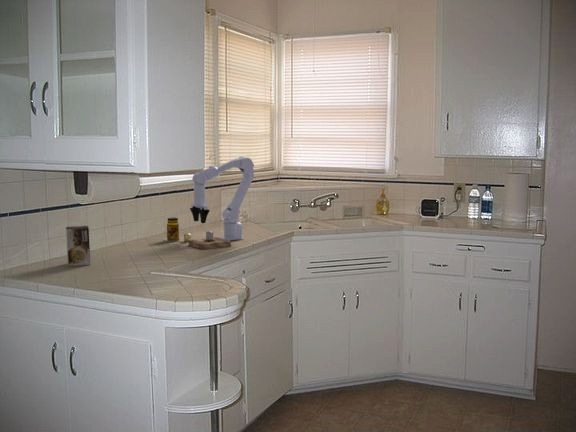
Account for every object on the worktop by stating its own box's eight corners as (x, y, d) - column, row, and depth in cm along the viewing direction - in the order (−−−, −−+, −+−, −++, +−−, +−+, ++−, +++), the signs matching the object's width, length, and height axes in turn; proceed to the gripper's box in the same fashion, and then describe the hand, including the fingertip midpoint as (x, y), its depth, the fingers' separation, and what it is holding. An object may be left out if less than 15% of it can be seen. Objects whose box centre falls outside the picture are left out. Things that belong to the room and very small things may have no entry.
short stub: (189, 240, 335) (189, 233, 334) (192, 241, 332) (192, 234, 331) (182, 241, 333) (182, 233, 332) (186, 242, 330) (186, 234, 329)
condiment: (169, 242, 330) (168, 219, 328) (163, 239, 337) (162, 217, 335) (182, 241, 333) (182, 218, 332) (176, 238, 341) (176, 216, 339)
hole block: (216, 241, 332) (216, 237, 332) (230, 246, 321) (230, 241, 321) (188, 245, 323) (188, 240, 323) (202, 249, 312) (202, 244, 311)
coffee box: (89, 262, 280) (88, 225, 278) (90, 265, 275) (89, 227, 272) (67, 263, 277) (65, 226, 275) (67, 266, 271) (66, 228, 269)
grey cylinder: (210, 244, 324) (210, 231, 323) (214, 245, 322) (214, 231, 321) (204, 245, 322) (204, 231, 321) (208, 246, 319) (208, 232, 318)
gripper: (186, 195, 335) (186, 220, 336) (199, 197, 323) (199, 224, 325) (198, 194, 339) (198, 219, 341) (211, 196, 327) (211, 223, 329)
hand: (199, 222), depth 333 cm, fingers open, 7 cm apart
